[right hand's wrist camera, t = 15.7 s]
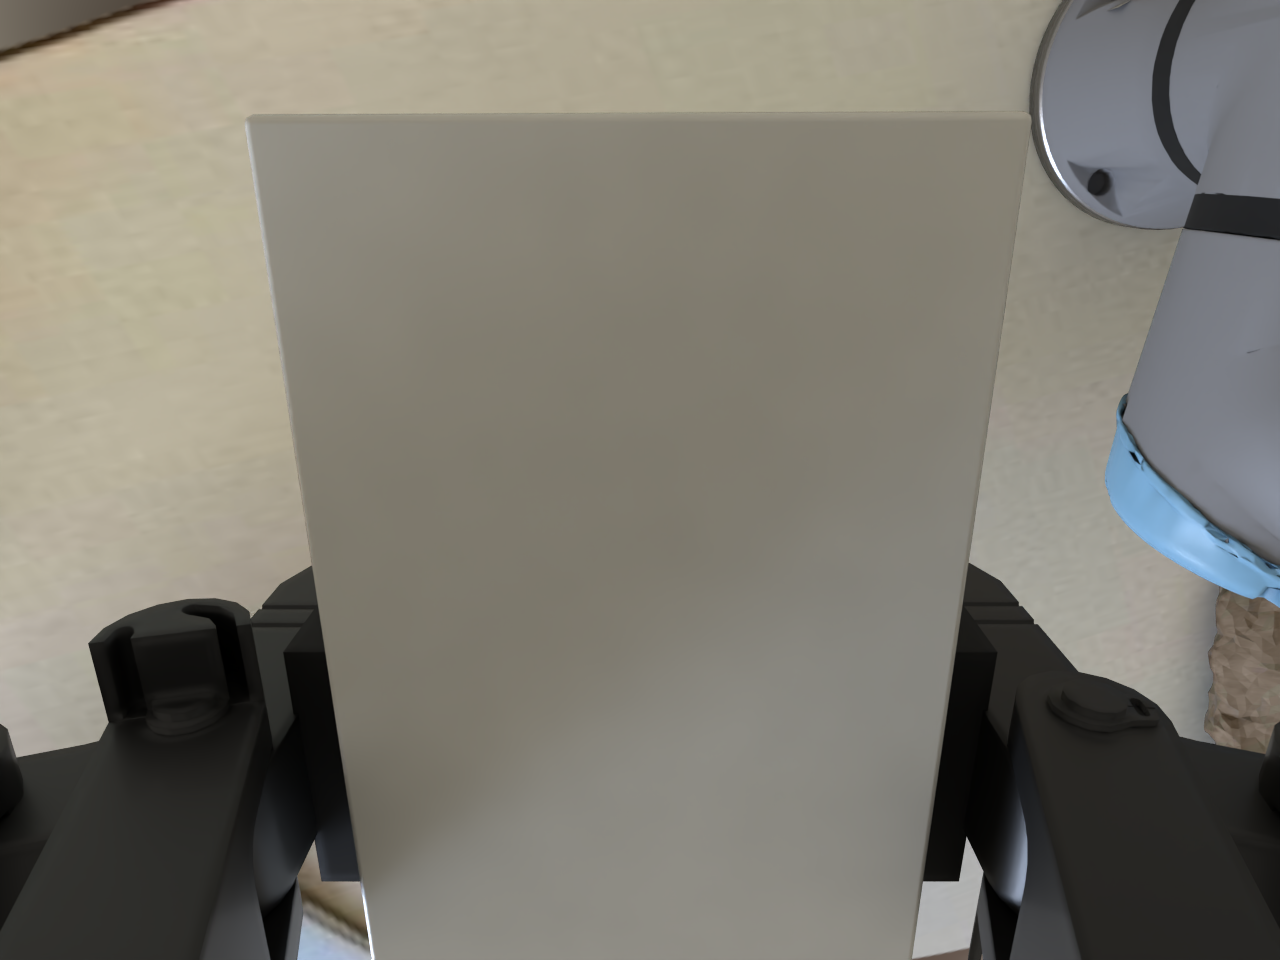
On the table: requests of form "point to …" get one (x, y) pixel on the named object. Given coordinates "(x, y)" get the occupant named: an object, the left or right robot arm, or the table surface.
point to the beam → (640, 509)
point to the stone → (1244, 673)
